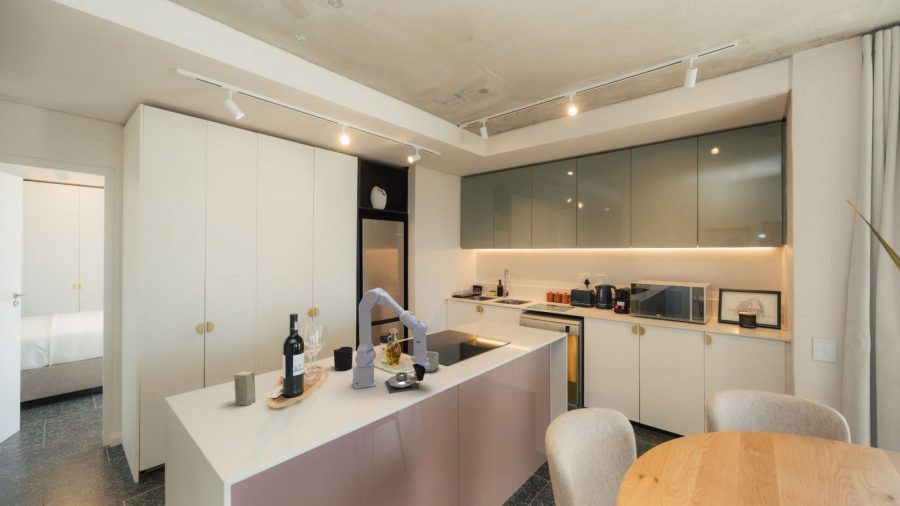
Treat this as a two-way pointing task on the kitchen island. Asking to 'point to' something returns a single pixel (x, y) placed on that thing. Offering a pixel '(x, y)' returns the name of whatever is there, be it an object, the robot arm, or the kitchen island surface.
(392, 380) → the turntable
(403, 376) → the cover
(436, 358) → the teacup
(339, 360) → the pen holder
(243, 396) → the skincare box
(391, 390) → the turntable base
